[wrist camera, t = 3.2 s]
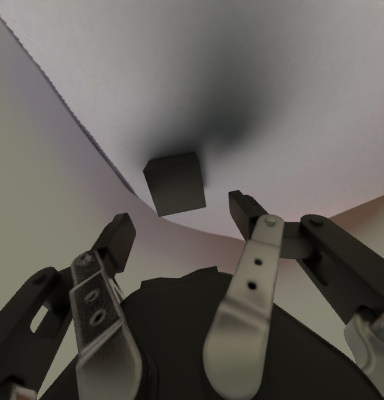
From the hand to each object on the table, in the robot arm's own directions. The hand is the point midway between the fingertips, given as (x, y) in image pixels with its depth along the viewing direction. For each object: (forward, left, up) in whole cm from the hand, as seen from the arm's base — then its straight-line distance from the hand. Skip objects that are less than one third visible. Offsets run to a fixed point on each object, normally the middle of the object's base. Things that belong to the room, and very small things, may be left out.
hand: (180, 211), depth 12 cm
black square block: (0, 0, -8) cm, 8 cm away
